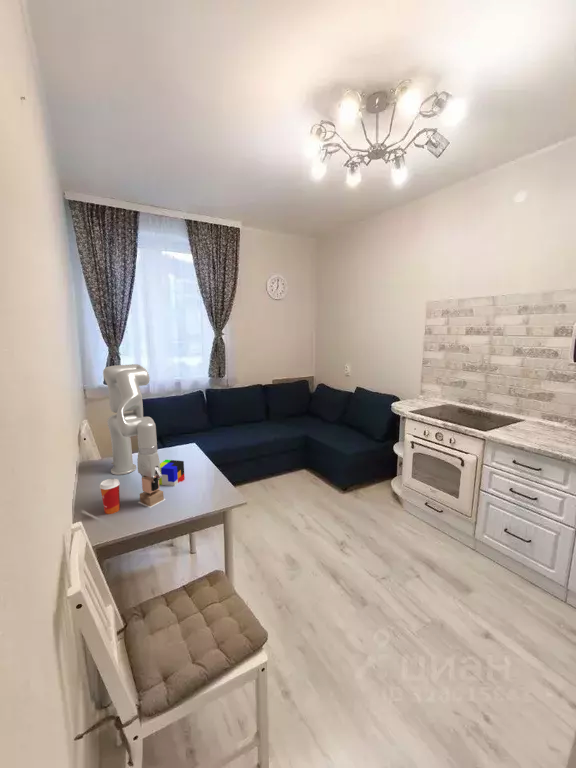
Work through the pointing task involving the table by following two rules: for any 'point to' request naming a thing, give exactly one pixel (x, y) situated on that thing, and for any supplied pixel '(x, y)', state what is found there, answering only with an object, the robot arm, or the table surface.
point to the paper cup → (110, 495)
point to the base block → (151, 497)
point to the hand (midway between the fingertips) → (151, 487)
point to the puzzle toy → (171, 472)
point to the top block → (147, 484)
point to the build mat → (151, 506)
